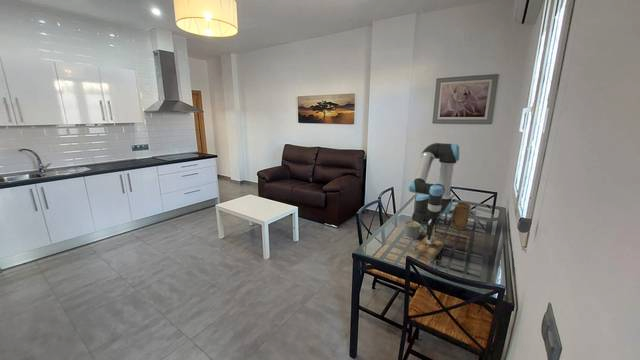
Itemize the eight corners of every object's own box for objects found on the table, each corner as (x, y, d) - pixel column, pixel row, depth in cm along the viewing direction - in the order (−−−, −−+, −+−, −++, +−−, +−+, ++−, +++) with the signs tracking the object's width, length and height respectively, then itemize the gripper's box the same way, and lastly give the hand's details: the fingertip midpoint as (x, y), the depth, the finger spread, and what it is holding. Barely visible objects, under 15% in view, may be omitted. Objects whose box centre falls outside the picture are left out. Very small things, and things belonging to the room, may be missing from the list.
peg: (424, 249, 170) (427, 224, 164) (427, 246, 173) (430, 222, 167) (431, 251, 167) (434, 226, 162) (433, 248, 170) (436, 224, 164)
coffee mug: (402, 237, 187) (403, 224, 184) (406, 231, 195) (407, 219, 192) (421, 242, 180) (422, 229, 177) (424, 236, 187) (425, 223, 184)
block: (467, 227, 198) (471, 204, 192) (465, 231, 193) (469, 207, 187) (452, 224, 205) (455, 200, 199) (449, 227, 199) (453, 204, 193)
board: (414, 252, 168) (415, 247, 166) (425, 241, 180) (425, 236, 179) (433, 259, 160) (434, 254, 159) (442, 247, 172) (443, 242, 171)
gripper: (435, 215, 153) (431, 249, 160) (444, 207, 165) (440, 238, 172) (422, 212, 158) (419, 245, 165) (432, 204, 170) (428, 235, 177)
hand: (430, 242), depth 168 cm, fingers closed on peg, 4 cm apart
